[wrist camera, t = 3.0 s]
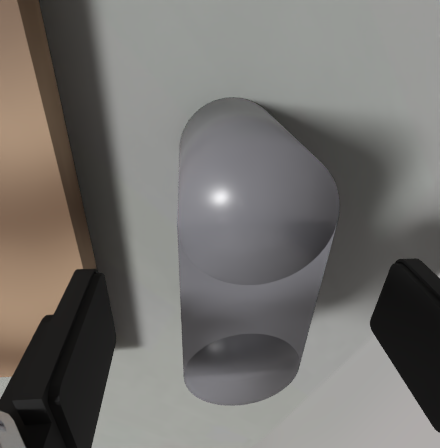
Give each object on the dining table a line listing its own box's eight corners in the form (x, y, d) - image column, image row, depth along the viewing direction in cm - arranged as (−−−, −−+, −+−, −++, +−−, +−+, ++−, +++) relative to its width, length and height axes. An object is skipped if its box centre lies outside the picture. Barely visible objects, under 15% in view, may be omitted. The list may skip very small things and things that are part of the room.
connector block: (177, 96, 11) (173, 142, 6) (287, 98, 12) (358, 143, 7) (185, 327, 17) (186, 436, 13) (256, 323, 18) (283, 428, 13)
